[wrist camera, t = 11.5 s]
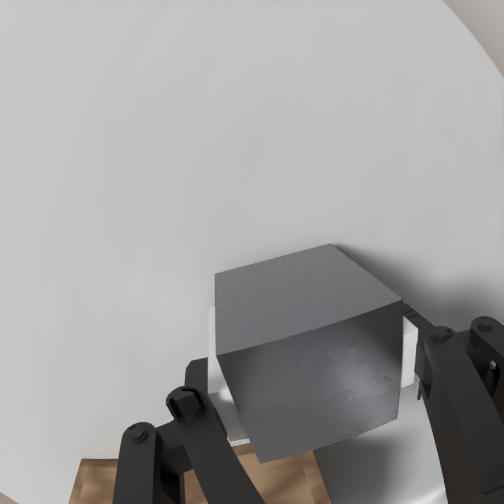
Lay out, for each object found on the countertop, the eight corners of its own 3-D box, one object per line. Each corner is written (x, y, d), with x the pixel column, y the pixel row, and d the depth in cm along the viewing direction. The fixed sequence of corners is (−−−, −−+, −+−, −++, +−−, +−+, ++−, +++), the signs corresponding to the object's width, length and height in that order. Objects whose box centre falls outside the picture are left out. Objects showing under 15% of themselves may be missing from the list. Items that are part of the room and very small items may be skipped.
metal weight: (329, 243, 16) (403, 299, 9) (342, 339, 17) (397, 418, 11) (214, 274, 15) (216, 355, 9) (244, 367, 17) (260, 463, 10)
